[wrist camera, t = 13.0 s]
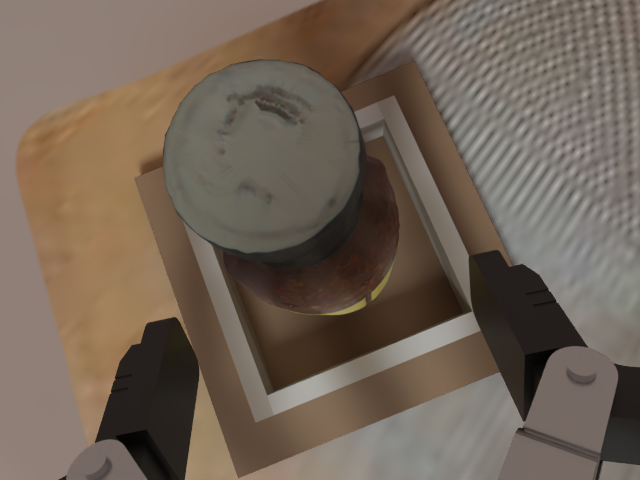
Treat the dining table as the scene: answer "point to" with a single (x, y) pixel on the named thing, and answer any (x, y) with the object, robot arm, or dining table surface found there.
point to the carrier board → (352, 328)
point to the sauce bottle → (283, 187)
